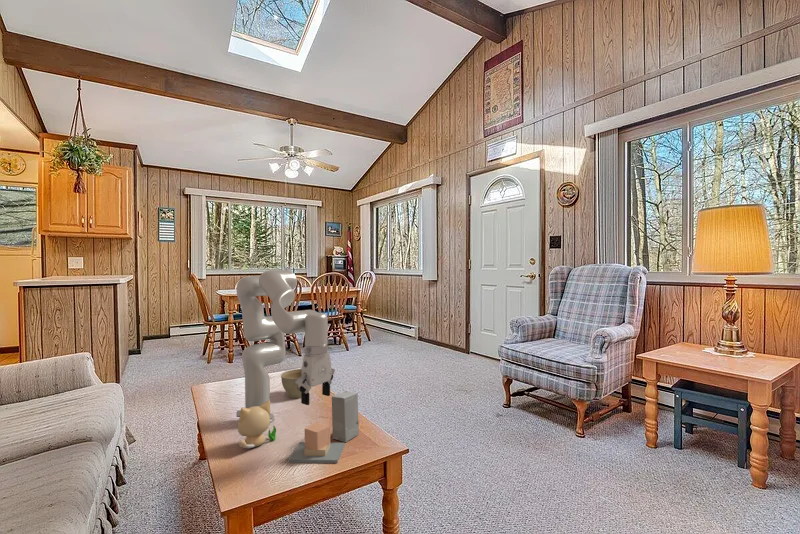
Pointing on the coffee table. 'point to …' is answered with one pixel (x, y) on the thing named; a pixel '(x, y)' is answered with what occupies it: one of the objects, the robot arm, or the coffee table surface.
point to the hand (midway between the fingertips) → (316, 399)
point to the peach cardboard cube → (317, 436)
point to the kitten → (255, 425)
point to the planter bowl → (292, 382)
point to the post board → (317, 459)
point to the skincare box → (345, 416)
